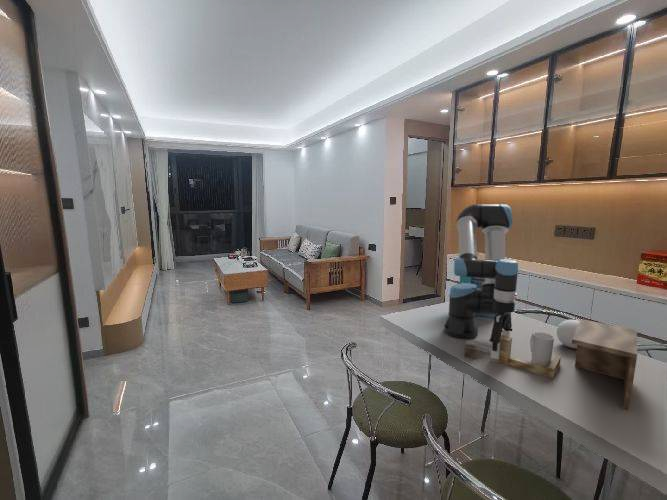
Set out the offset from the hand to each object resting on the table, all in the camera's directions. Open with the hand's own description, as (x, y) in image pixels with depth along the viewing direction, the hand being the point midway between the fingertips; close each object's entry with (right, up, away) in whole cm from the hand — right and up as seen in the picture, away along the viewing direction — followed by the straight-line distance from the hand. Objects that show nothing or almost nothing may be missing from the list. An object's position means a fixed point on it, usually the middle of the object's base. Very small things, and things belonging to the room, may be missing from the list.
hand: (499, 351), depth 132 cm
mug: (+14, -4, -1) cm, 15 cm away
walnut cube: (-10, -3, +5) cm, 11 cm away
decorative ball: (+37, -2, +12) cm, 39 cm away
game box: (+13, +4, +51) cm, 53 cm away
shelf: (+26, -6, -17) cm, 31 cm away
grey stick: (-4, -2, +11) cm, 12 cm away
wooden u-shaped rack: (+9, -4, -1) cm, 10 cm away
